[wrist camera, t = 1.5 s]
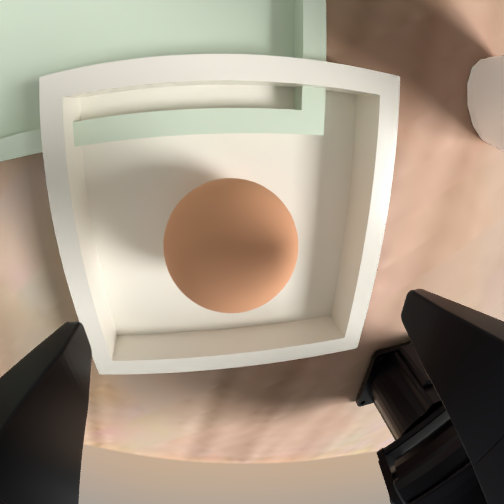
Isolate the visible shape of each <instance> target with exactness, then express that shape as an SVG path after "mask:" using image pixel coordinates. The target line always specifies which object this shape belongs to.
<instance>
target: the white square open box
mask: <svg viewBox="0 0 504 504" xmlns="http://www.w3.org/2000/svg"><path fill="white" fill-rule="evenodd" d="M301 86H305V87H315V88H324V89H326V93H325V118H324V136H323V135H305V134H276V133H224V134H195V135H177V136H163V137H150V138H139V139H129V140H120V141H112V142H104V143H97V144H90V145H83V146H76V147H74V135H73V122H76V121H82V120H88V119H95V118H101V117H109V116H116V115H124V114H133V113H143V112H154V111H166V110H182V109H204V108H268V109H291V110H294V87H301ZM399 97H400V76H396V75H392V74H388V73H384V72H379V71H375V70H370V69H365V68H360V67H355V66H350V65H344V64H338V63H332V62H325V61H318V60H310V59H302V58H292V57H282V56H268V55H250V54H188V55H170V56H157V57H146V58H137V59H129V60H121V61H114V62H108V63H102V64H96V65H90V66H85V67H80V68H75V69H71V70H66V71H62V72H57V73H53V74H49V75H46V76H42V77H39V99H40V125H41V140H42V151H43V161H44V170H45V178H46V185H47V191H48V198H49V204H50V210H51V215H52V220H53V225H54V230H55V235H56V240H57V244H58V248H59V253H60V257H61V261H62V265H63V269H64V272H65V276H66V280H67V283H68V287H69V290H70V294H71V297H72V300H73V304H74V307H75V310H76V313H77V316H78V319H79V322H81V323H82V324H83V326H84V329H85V332H86V334H87V337H88V340H89V343H90V346H91V350H92V357H93V360H94V362H95V365H96V367H97V370H98V372H99V374H102V375H117V374H157V373H177V372H192V371H205V370H216V369H227V368H236V367H245V366H253V365H261V364H269V363H276V362H283V361H289V360H296V359H302V358H308V357H314V356H320V355H325V354H331V353H336V352H341V351H346V350H351V349H356V348H357V347H358V343H359V340H360V336H361V332H362V329H363V325H364V321H365V318H366V314H367V310H368V306H369V302H370V298H371V293H372V289H373V285H374V280H375V276H376V271H377V267H378V262H379V257H380V252H381V247H382V242H383V236H384V231H385V225H386V219H387V213H388V207H389V200H390V193H391V186H392V178H393V170H394V161H395V152H396V141H397V129H398V115H399ZM223 178H239V179H245V180H249V181H252V182H255V183H258V184H260V185H262V186H264V187H265V188H267V189H268V190H270V191H271V192H273V193H274V194H275V195H276V196H277V197H278V198H279V199H280V200H281V201H282V202H283V203H284V204H285V206H286V207H287V209H288V211H289V212H290V214H291V216H292V218H293V220H294V223H295V226H296V230H297V234H298V256H297V261H296V265H295V268H294V271H293V273H292V275H291V277H290V279H289V281H288V282H287V284H286V285H285V287H284V288H283V289H282V290H281V291H280V292H279V293H278V294H277V295H276V296H275V297H274V298H273V299H272V300H270V301H269V302H267V303H266V304H264V305H262V306H260V307H258V308H256V309H253V310H250V311H246V312H241V313H221V312H216V311H212V310H209V309H206V308H204V307H201V306H199V305H198V304H196V303H194V302H193V301H191V300H190V299H189V298H188V297H186V296H185V295H184V294H183V293H182V292H181V291H180V290H179V288H178V287H177V286H176V284H175V283H174V281H173V280H172V278H171V276H170V274H169V272H168V269H167V266H166V263H165V258H164V249H163V240H164V233H165V229H166V225H167V222H168V220H169V218H170V215H171V213H172V212H173V210H174V208H175V207H176V205H177V204H178V203H179V202H180V200H181V199H183V198H184V197H185V196H186V195H187V194H188V193H189V192H191V191H192V190H193V189H195V188H196V187H198V186H200V185H202V184H204V183H207V182H209V181H213V180H217V179H223Z"/></svg>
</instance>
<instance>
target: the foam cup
mask: <svg viewBox="0 0 504 504" xmlns="http://www.w3.org/2000/svg"><path fill="white" fill-rule="evenodd" d="M467 106H468V109H469V113H470V117H471V121H472V125H473V127H474V128H475V130H476V132H477V133H478V135H479V136H480V138H481V140H482V141H484V142H486V143H488V144H490V145H492V146H494V147H496V148H497V149H499V150H501V151H503V152H504V55H502V56H495V57H488V58H486V59H480V60H479V61H478V62H477V63H476V64H475V65H474V66H473V67H472V69H471V73H470V76H469V80H468V83H467Z"/></svg>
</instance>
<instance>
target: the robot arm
mask: <svg viewBox="0 0 504 504" xmlns="http://www.w3.org/2000/svg"><path fill="white" fill-rule="evenodd" d="M401 319H402V322H403V324H404V326H405V329H406V331H407V333H408V335H409V337H410V340H411V342H410V343H406V344H402V345H398V346H395V347H391V348H387V349H383V350H379V351H377V352H376V353H375V354H374V355H373V357H372V360H371V362H370V365H369V368H368V371H367V374H366V376H365V379H364V382H363V384H362V387H361V390H360V392H359V395H358V397H357V400H356V403H357V405H358V406H364V405H367V404H371V403H374V404H375V406H376V407H377V409H378V411H379V413H380V414H381V416H382V418H383V420H384V421H385V423H386V425H387V427H388V428H389V430H390V432H391V434H392V435H393V437H394V439H395V441H394V442H393V443H391V444H390V445H388V446H387V447H385V448H382V449H380V450H379V451H378V452H377V455H378V458H379V465H380V468H381V471H382V474H383V477H384V480H385V483H386V486H387V490H388V492H389V497H390V502H391V504H504V322H503V321H501V320H498V319H496V318H493V317H491V316H489V315H486V314H484V313H481V312H479V311H476V310H474V309H471V308H469V307H466V306H464V305H461V304H459V303H456V302H454V301H451V300H448V299H446V298H443V297H441V296H438V295H436V294H433V293H431V292H428V291H425V290H423V289H416V290H411V291H409V292H408V294H407V296H406V300H405V303H404V306H403V310H402V313H401ZM91 358H92V350H91V346H90V343H89V340H88V337H87V334H86V332H85V329H84V326H83V324H82V323H81V322H66V323H65V324H64V325H62V326H61V327H60V328H59V329H57V330H56V331H55V332H54V333H53V334H51V335H50V336H49V337H48V338H46V339H45V340H44V341H43V342H42V343H40V344H39V345H38V346H37V347H36V348H34V349H33V350H32V351H31V352H30V353H28V354H27V355H26V356H25V357H24V358H23V359H21V360H20V361H19V362H18V363H17V364H16V365H14V366H13V367H12V368H11V369H10V370H9V371H8V372H6V373H5V374H4V375H3V376H2V377H1V378H0V504H78V499H79V483H80V470H81V459H82V449H83V441H84V433H85V425H86V418H87V411H88V402H89V385H90V370H91Z"/></svg>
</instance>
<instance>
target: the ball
mask: <svg viewBox="0 0 504 504" xmlns="http://www.w3.org/2000/svg"><path fill="white" fill-rule="evenodd" d="M163 249H164V258H165V263H166V266H167V269H168V272H169V274H170V276H171V278H172V280H173V281H174V283H175V284H176V286H177V287H178V288H179V290H180V291H181V292H182V293H183V294H184V295H185V296H186V297H188V298H189V299H190V300H191V301H193V302H194V303H196V304H198V305H199V306H201V307H204V308H206V309H209V310H212V311H216V312H221V313H241V312H246V311H250V310H253V309H256V308H258V307H260V306H262V305H264V304H266V303H267V302H269V301H270V300H272V299H273V298H274V297H275V296H276V295H277V294H278V293H279V292H280V291H281V290H282V289H283V288H284V287H285V285H286V284H287V282H288V281H289V279H290V277H291V275H292V273H293V271H294V268H295V265H296V261H297V256H298V234H297V230H296V226H295V223H294V220H293V218H292V216H291V214H290V212H289V211H288V209H287V207H286V206H285V204H284V203H283V202H282V201H281V200H280V199H279V198H278V197H277V196H276V195H275V194H274V193H273V192H271V191H270V190H268V189H267V188H265V187H264V186H262V185H260V184H258V183H255V182H252V181H249V180H245V179H239V178H223V179H217V180H213V181H209V182H207V183H204V184H202V185H200V186H198V187H196V188H195V189H193V190H192V191H191V192H189V193H188V194H187V195H186V196H185V197H184V198H183V199H181V200H180V202H179V203H178V204H177V205H176V207H175V208H174V210H173V212H172V213H171V215H170V218H169V220H168V222H167V225H166V229H165V233H164V240H163Z"/></svg>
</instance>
